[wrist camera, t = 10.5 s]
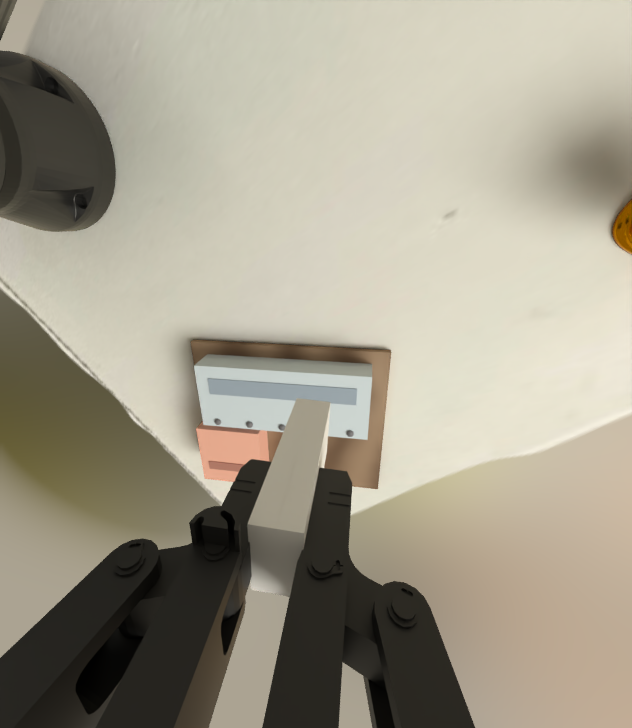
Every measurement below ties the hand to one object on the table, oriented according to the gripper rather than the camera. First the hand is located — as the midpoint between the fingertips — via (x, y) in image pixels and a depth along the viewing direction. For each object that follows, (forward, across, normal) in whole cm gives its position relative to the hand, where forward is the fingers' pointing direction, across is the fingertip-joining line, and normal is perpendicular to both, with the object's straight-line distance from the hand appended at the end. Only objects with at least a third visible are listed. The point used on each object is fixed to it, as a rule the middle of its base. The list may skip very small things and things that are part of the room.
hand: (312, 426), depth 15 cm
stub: (+23, -13, -20) cm, 33 cm away
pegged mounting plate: (+24, -6, -11) cm, 27 cm away
